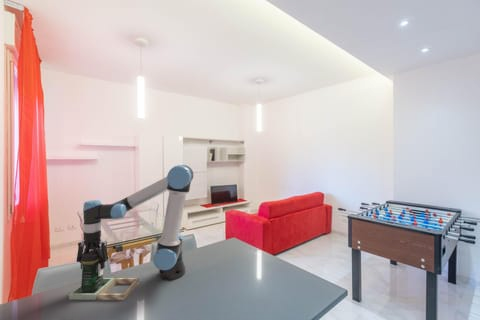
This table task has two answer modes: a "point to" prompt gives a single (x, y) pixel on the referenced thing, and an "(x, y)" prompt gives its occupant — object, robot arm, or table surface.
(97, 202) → the robot arm
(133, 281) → the birch frame
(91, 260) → the coffee jar
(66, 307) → the table surface
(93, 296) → the green frame
